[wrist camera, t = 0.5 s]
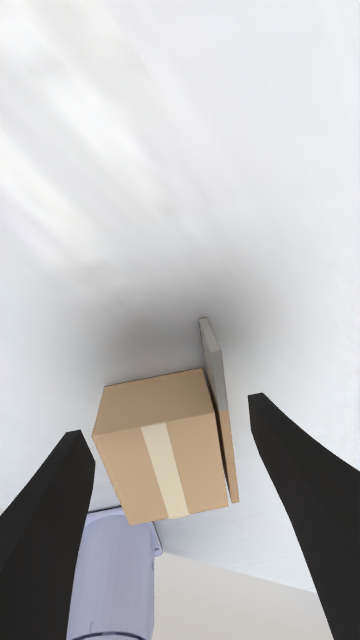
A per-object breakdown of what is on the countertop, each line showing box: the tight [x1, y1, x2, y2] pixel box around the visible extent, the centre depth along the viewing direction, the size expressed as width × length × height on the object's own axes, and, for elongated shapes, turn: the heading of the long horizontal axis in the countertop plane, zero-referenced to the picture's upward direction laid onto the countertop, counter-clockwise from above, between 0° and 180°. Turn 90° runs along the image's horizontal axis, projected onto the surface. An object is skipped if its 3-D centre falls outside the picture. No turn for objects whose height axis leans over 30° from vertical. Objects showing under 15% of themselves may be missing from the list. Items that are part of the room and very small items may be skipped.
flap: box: [199, 317, 239, 503], centre depth 21 cm, size 14×1×5 cm, turn 10°
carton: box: [92, 368, 229, 526], centre depth 22 cm, size 10×8×5 cm
